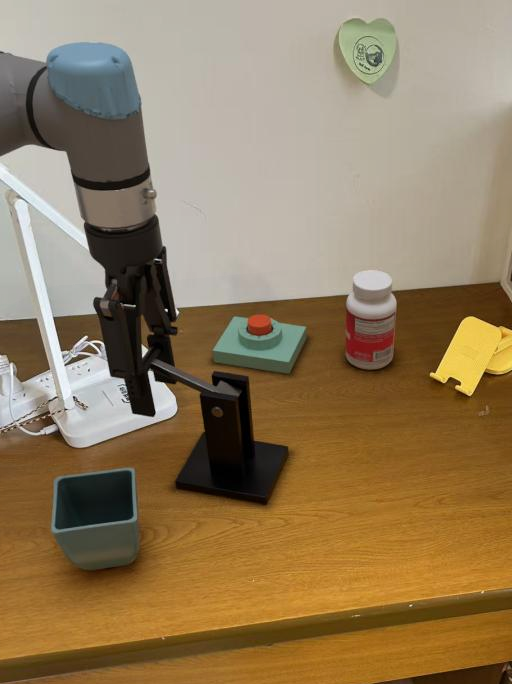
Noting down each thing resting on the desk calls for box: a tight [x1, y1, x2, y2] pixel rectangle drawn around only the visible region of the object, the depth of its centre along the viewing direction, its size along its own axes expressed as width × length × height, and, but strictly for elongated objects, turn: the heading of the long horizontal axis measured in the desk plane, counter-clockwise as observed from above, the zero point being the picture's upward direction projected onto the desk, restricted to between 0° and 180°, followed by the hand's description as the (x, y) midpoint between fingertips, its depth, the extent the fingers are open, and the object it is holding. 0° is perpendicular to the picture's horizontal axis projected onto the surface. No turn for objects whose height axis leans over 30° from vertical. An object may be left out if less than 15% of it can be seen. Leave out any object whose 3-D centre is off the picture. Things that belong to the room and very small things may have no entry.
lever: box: [142, 343, 242, 399], centre depth 92 cm, size 12×6×2 cm, turn 78°
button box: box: [212, 316, 307, 375], centre depth 119 cm, size 12×10×4 cm
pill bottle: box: [344, 269, 398, 371], centre depth 115 cm, size 8×8×14 cm
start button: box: [247, 314, 272, 336], centre depth 118 cm, size 4×4×2 cm
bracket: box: [174, 370, 290, 505], centre depth 96 cm, size 12×10×14 cm
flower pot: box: [50, 467, 141, 571], centre depth 87 cm, size 9×9×9 cm
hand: (155, 396), depth 95 cm, fingers open, 6 cm apart
